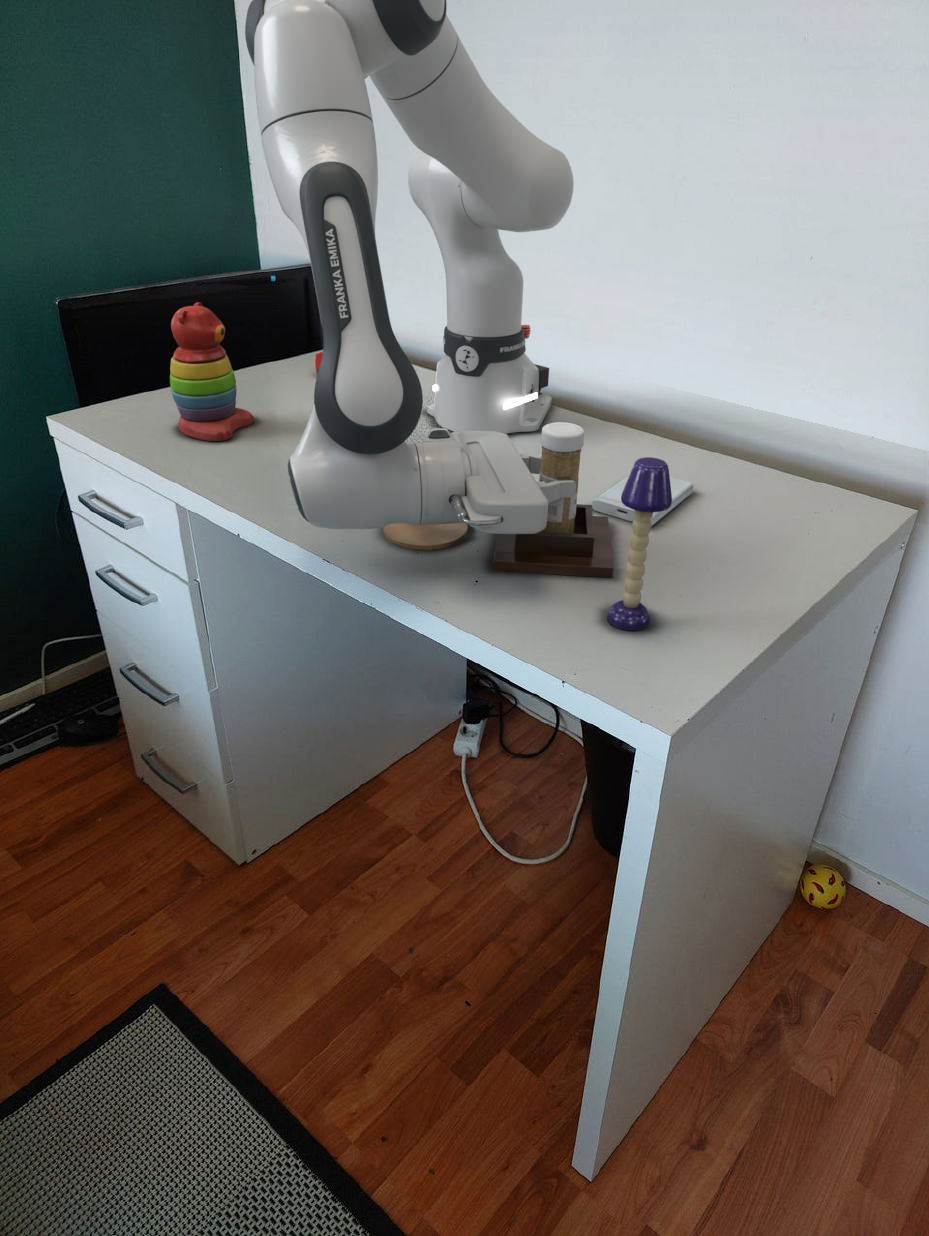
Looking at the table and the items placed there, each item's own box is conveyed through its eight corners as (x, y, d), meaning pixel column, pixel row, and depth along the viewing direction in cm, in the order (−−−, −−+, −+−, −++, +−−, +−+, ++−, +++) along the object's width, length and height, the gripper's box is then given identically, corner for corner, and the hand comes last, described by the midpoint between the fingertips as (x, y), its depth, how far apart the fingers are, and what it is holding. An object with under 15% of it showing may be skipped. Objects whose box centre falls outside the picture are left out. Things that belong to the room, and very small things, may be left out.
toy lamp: (602, 606, 89) (620, 452, 80) (646, 605, 89) (670, 452, 80) (611, 631, 84) (632, 472, 76) (658, 631, 85) (684, 472, 76)
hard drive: (637, 468, 116) (593, 498, 107) (694, 482, 112) (653, 515, 103) (635, 479, 117) (591, 510, 108) (692, 494, 113) (651, 527, 104)
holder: (500, 519, 105) (501, 492, 104) (606, 525, 105) (610, 498, 103) (493, 570, 95) (494, 541, 93) (612, 577, 94) (616, 548, 92)
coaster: (409, 506, 108) (408, 502, 108) (481, 522, 105) (481, 518, 104) (368, 538, 100) (367, 534, 100) (444, 557, 97) (444, 552, 97)
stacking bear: (223, 443, 125) (205, 317, 116) (162, 435, 128) (140, 311, 118) (259, 419, 134) (245, 300, 124) (201, 412, 136) (184, 295, 127)
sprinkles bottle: (581, 543, 99) (593, 430, 91) (550, 552, 96) (560, 438, 89) (556, 527, 102) (566, 417, 95) (526, 536, 100) (533, 425, 92)
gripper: (460, 495, 83) (598, 488, 85) (429, 422, 100) (545, 417, 102) (459, 554, 86) (592, 544, 88) (430, 473, 103) (542, 467, 105)
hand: (566, 476), depth 95 cm, fingers closed on sprinkles bottle, 4 cm apart
